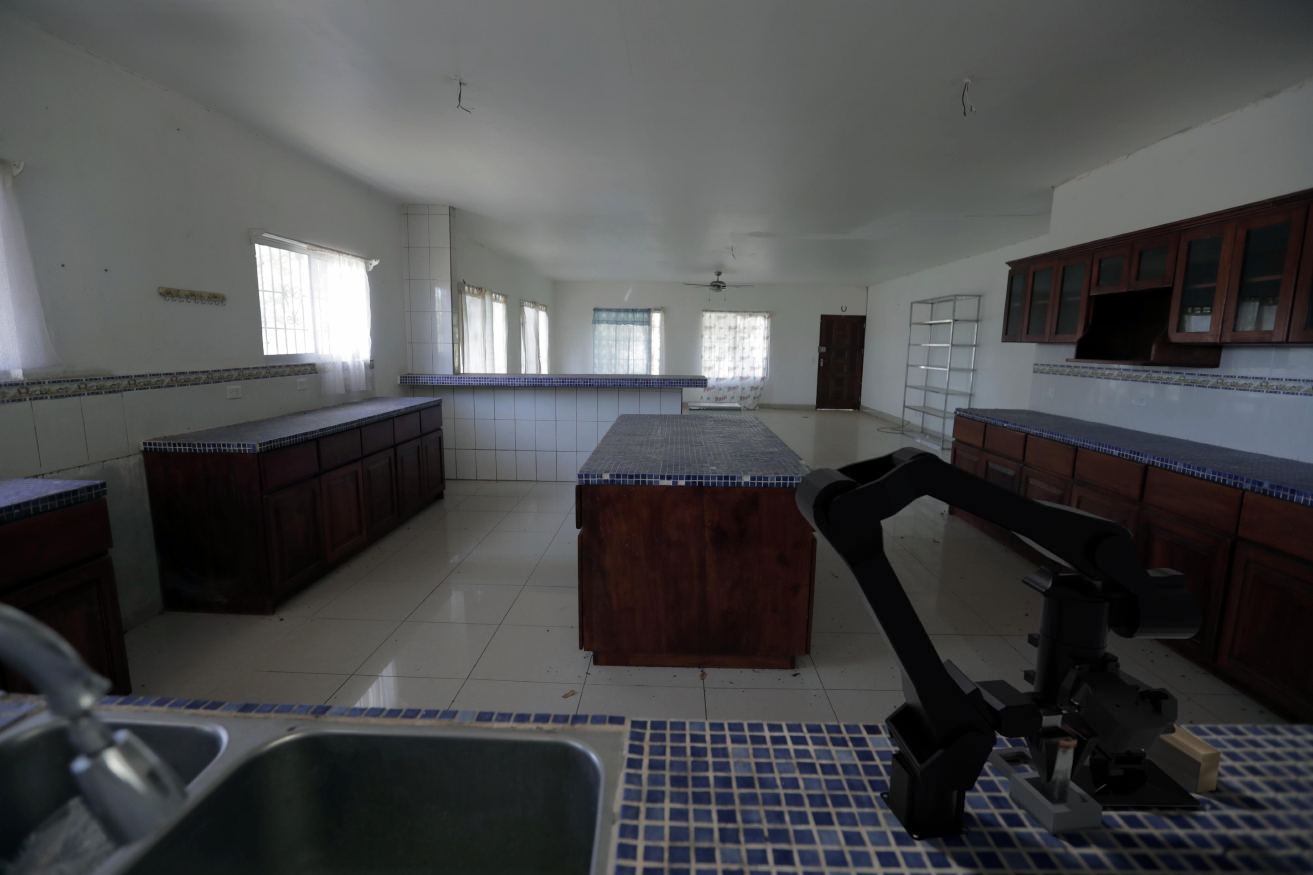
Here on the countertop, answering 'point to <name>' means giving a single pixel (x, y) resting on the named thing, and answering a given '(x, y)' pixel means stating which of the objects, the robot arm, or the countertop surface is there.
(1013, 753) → the pin socket
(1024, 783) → the tray
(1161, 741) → the rail
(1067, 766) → the pin
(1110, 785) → the build plate
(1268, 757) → the countertop surface
